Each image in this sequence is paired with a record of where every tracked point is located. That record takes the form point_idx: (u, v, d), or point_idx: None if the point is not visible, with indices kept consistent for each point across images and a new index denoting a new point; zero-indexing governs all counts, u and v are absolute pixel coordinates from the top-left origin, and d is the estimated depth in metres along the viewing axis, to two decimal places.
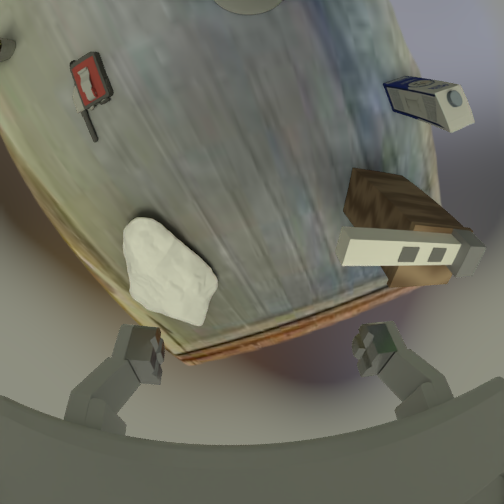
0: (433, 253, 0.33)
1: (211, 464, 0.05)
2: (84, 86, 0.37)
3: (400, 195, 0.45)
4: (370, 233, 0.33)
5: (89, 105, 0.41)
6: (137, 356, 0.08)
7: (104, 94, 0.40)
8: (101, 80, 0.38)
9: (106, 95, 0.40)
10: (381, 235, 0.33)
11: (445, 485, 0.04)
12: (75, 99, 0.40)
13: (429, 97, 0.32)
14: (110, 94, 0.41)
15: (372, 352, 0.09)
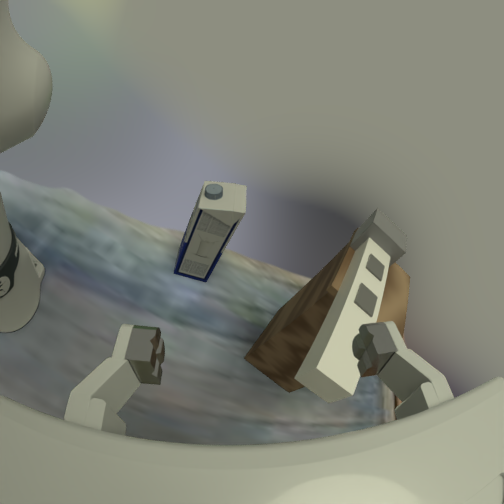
0: (372, 270, 0.28)
1: (211, 464, 0.05)
2: None
3: (294, 309, 0.41)
4: (320, 341, 0.22)
5: None
6: (137, 356, 0.08)
7: None
8: None
9: None
10: (329, 327, 0.23)
11: (445, 485, 0.04)
12: None
13: (201, 219, 0.41)
14: None
15: (372, 352, 0.09)
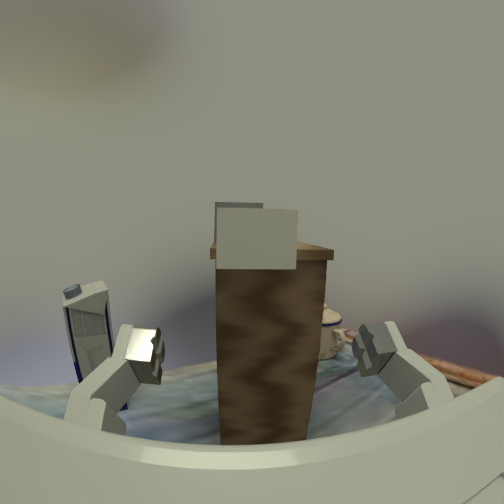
0: None
1: (211, 464, 0.05)
2: None
3: None
4: None
5: None
6: (137, 356, 0.08)
7: None
8: None
9: None
10: None
11: (445, 485, 0.04)
12: None
13: (72, 320, 0.29)
14: None
15: (372, 352, 0.09)
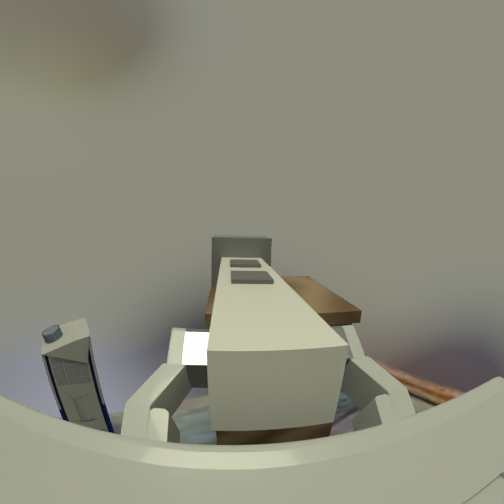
0: (241, 263, 0.22)
1: (211, 464, 0.05)
2: None
3: None
4: None
5: None
6: (195, 360, 0.08)
7: None
8: None
9: None
10: None
11: (445, 485, 0.04)
12: None
13: (53, 369, 0.23)
14: None
15: None
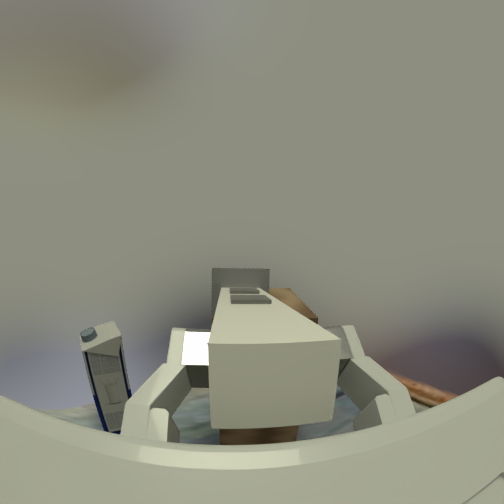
0: (240, 290, 0.22)
1: (211, 464, 0.05)
2: None
3: None
4: None
5: None
6: (195, 360, 0.08)
7: None
8: None
9: None
10: None
11: (445, 485, 0.04)
12: None
13: (91, 362, 0.33)
14: None
15: None
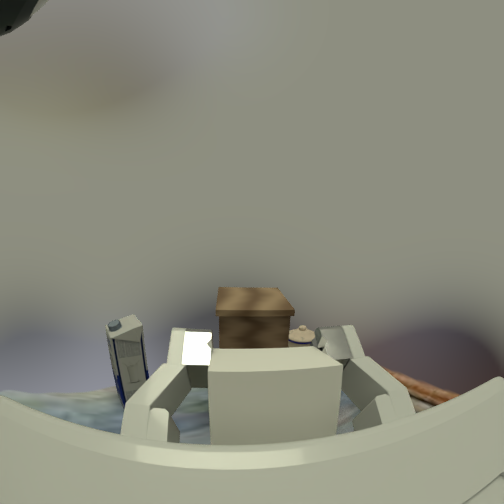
0: None
1: (211, 464, 0.05)
2: None
3: None
4: None
5: None
6: (195, 360, 0.08)
7: None
8: None
9: None
10: None
11: (445, 485, 0.04)
12: None
13: (117, 347, 0.44)
14: None
15: None
